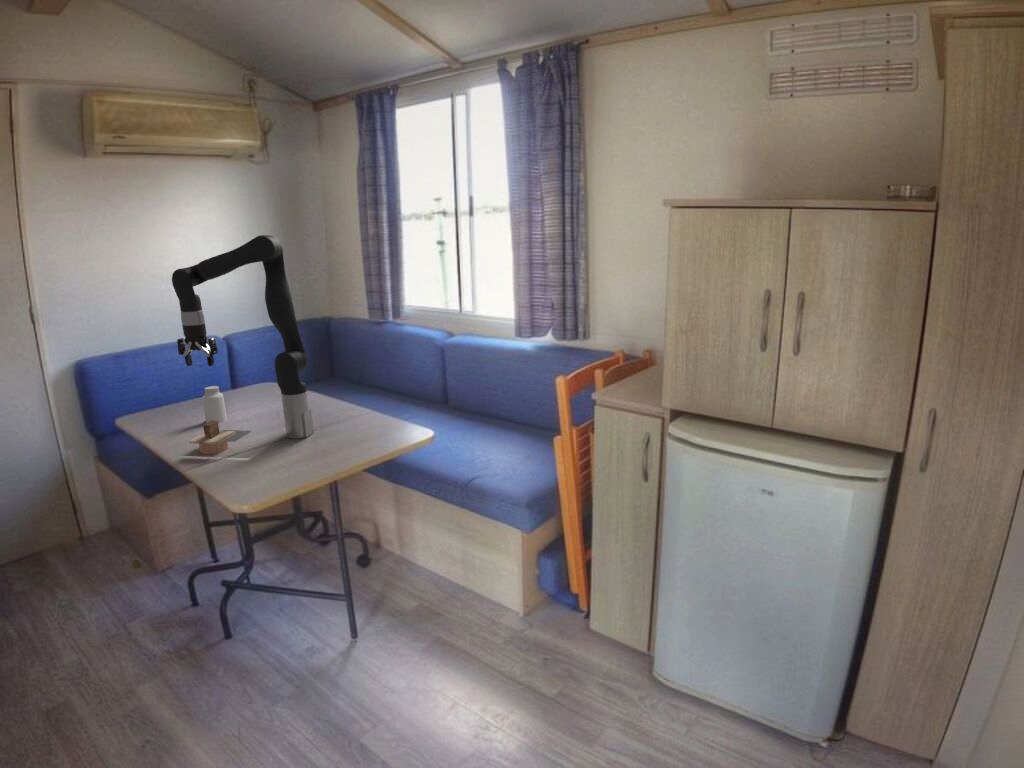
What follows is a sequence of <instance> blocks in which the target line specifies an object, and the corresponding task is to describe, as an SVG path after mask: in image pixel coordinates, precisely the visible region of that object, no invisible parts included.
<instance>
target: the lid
mask: <svg viewBox="0 0 1024 768" xmlns="http://www.w3.org/2000/svg"><path fill="white" fill-rule="evenodd" d="M203 431H204V432H203V433H201V434H199V435H198V436H196V437H194V438H192V439H190V440H188V443H189V444H196V445H197V444H198V445H199V444H219V443H221V442H223V441H224V440H226V439H227V438H229V437H231V436H232V435H234V434H236V432H235V431H223V430H220V426H219V423H218V421H210V422H208V423H204V424H203Z"/></svg>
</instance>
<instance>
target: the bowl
mask: <svg viewBox="0 0 1024 768" xmlns="http://www.w3.org/2000/svg"><path fill="white" fill-rule="evenodd" d="M198 446H199V451H200V453H201V454H203V455H214V454H218V453H219V454H220V453H221V452H225V451H227V450H228V449H229V442H228V441H227V439H226V440H224V441H223V442H221V443H219V444H198Z"/></svg>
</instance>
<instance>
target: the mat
mask: <svg viewBox="0 0 1024 768" xmlns="http://www.w3.org/2000/svg"><path fill="white" fill-rule="evenodd" d="M222 431H235V432H236V434H234V435H232V436H231V437H229V438H227V441H228V443H229V442H231V443H235V442H237V441H238V440H240V439H242V438H243V437H245V436H246V435H249V434H250V433H251V432H252V430H239V429H238V430H237V429H236V430H235V429H234V430H233V429H222Z"/></svg>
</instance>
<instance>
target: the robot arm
mask: <svg viewBox="0 0 1024 768" xmlns="http://www.w3.org/2000/svg"><path fill="white" fill-rule="evenodd" d="M284 259H285V258H284V250H283V244H282V243H281V241H280V240H279V238H278V237H276V236H274V235H270V234H266V235H264V234H262V235H261V234H260V235H257V236H255V237H254V238H252V239H251V240H249V241H248V242H246V243H244V244H242V245H240V246H238V247H236V248H233V249H232V250H229V251H227V252H224V253H221V254H218V255H214V256H211V257H210V258H209V257H208V258H207V259H204V260H202V261H199V262H198V263H197V264H194V265H191V266H189V267H188V266H187V267H183V268H178V269H176V270H174V271H173V273H172V276H171V284H172V287H173V289H174V292H175V294H176V296H177V298H178V302H179V303H178V304H179V308H180V309H179V310H180V319H181V326H182V333H183V336H184V337H180V338H178V339H176V341H177V343H176V344H177V350H178V354H179V355H181V356H184V361H185V364H186V366H187V367H191V366H193V358H192V355H191V354H192V352H193V351H201V352H202V353H204V354H205V355H206V360H207V366H208V367H212V366H214V364H215V361H214V360H215V358H214V355H216V354H219V352H218V351H219V349H218V347H217V341H216V338H215V337H212V338H207V328H206V320H205V316H204V311H203V306H202V301H201V298H200V297H201V296H200V295H198V294H196V293H195V290H194V287H195V286H199V285H201V284H203V283H205V282H207V281H209V280H214V279H216V278H219V277H221V276H224V275H227V274H229V273H231V272H233V271H235V270H237V269H239V268H241V267H244V266H246V265H250V264H254V263H260V262H261V263H262V266H263V269H264V272H265V274H264V275H265V288H264V289H265V290H264V303H265V307H266V310H267V314H268V318H269V319H270V322H271V323H272V325H273V326H274V327H275V328H276V330H277V331H278V333H279V334H280V336H281V339H282V341H283V342H282V343H283V346H284V351H282V352H280V353H278V354H276V356H275V358H274V371H275V377H276V381H277V386H278V388H279V389H280V394H281V395H280V396H281V401H282V411H283V419H284V426H285V433H286V437H287V439H303V438H308V437H309V436H311V435H312V434H313V433H314V432H315V431H314V421H313V414H312V409H310V407H309V405H310V404H309V398H308V389H307V384H306V383H305V382H304V381H303V382H302V381H300V375H299V373H301V372H303V371H305V369H306V368H307V366H308V356H307V353H306V350H305V347H304V344H303V340H302V338H301V335H300V331H299V330H300V329H299V326H298V325H299V324H298V322H297V319H296V318H297V317H296V312H295V306H294V303H293V298H292V295H291V290H290V286H289V282H288V278H287V273H286V267H285V266H286V265H285V260H284Z"/></svg>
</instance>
